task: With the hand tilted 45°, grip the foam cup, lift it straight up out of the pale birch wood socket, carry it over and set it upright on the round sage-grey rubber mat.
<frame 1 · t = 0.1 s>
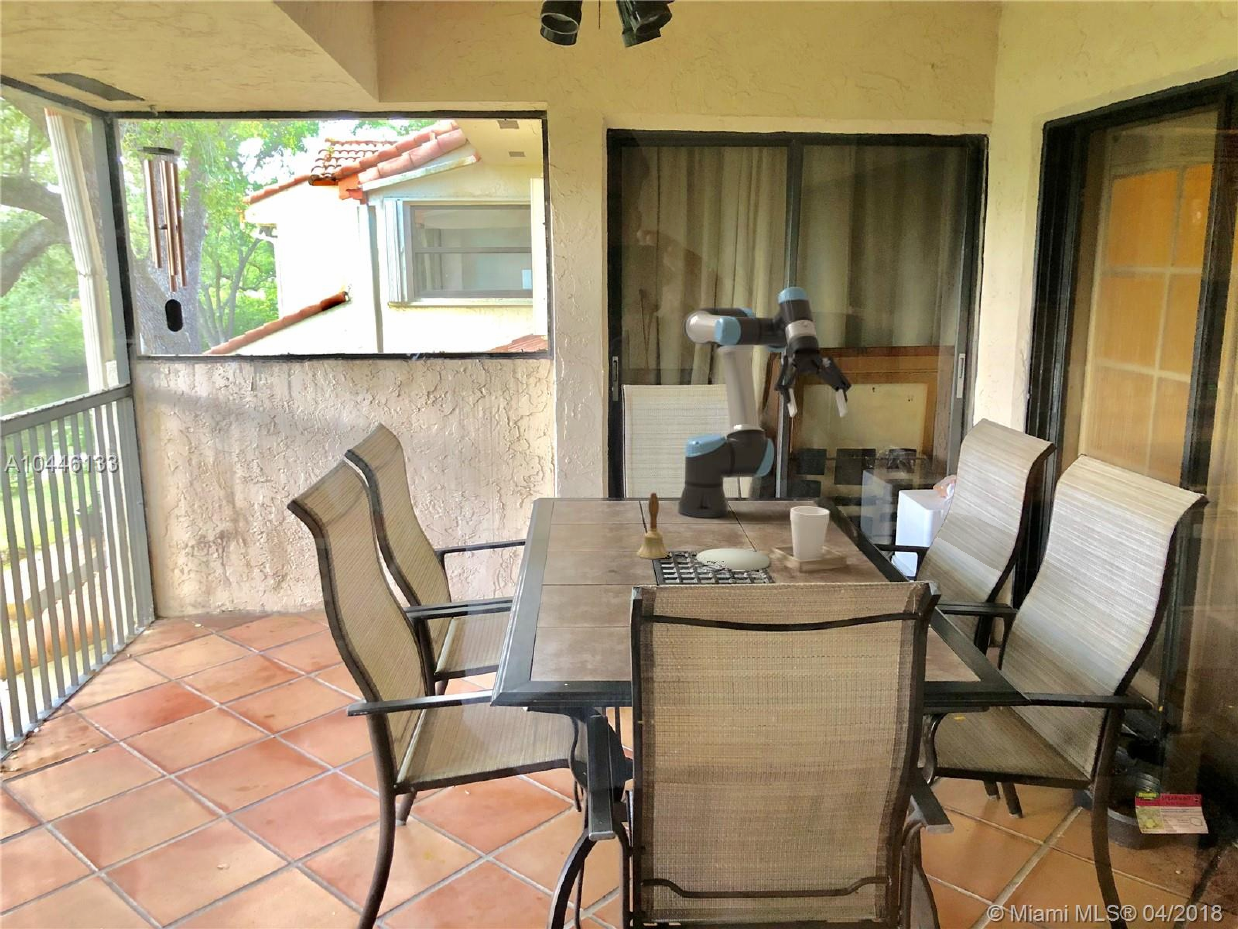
hand: (819, 414, 225), 36 cm above the table, tool tilted 35°, fingers open, 13 cm apart
hand bell: (652, 555, 228), on the table
cup socket: (806, 561, 224), on the table
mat: (732, 560, 224), on the table
foam cup: (806, 562, 224), resting in cup socket
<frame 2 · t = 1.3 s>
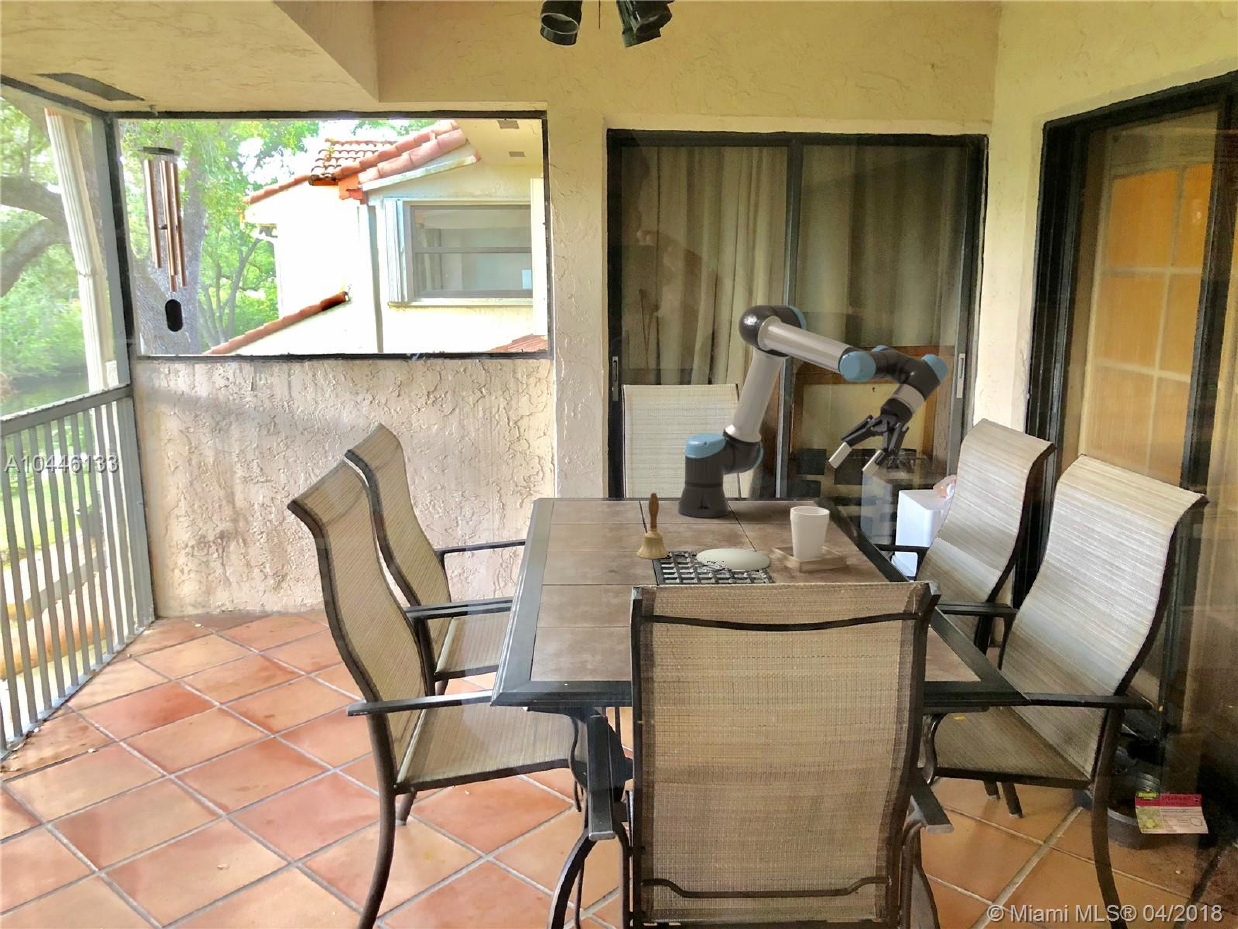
hand: (848, 469, 224), 23 cm above the table, tool tilted 45°, fingers open, 13 cm apart
nothing on the table moved.
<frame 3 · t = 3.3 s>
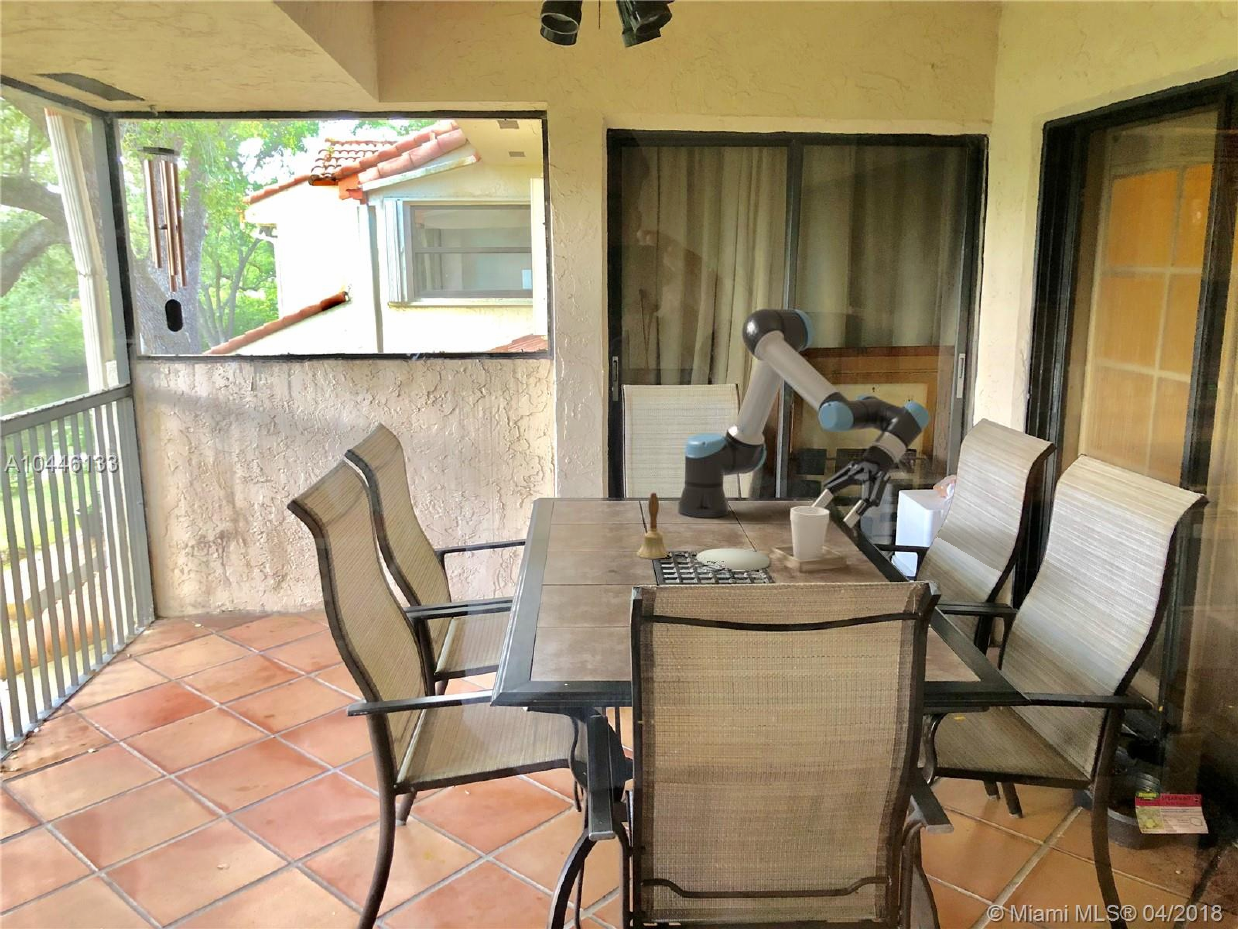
hand: (830, 517, 224), 11 cm above the table, tool tilted 45°, fingers open, 13 cm apart
nothing on the table moved.
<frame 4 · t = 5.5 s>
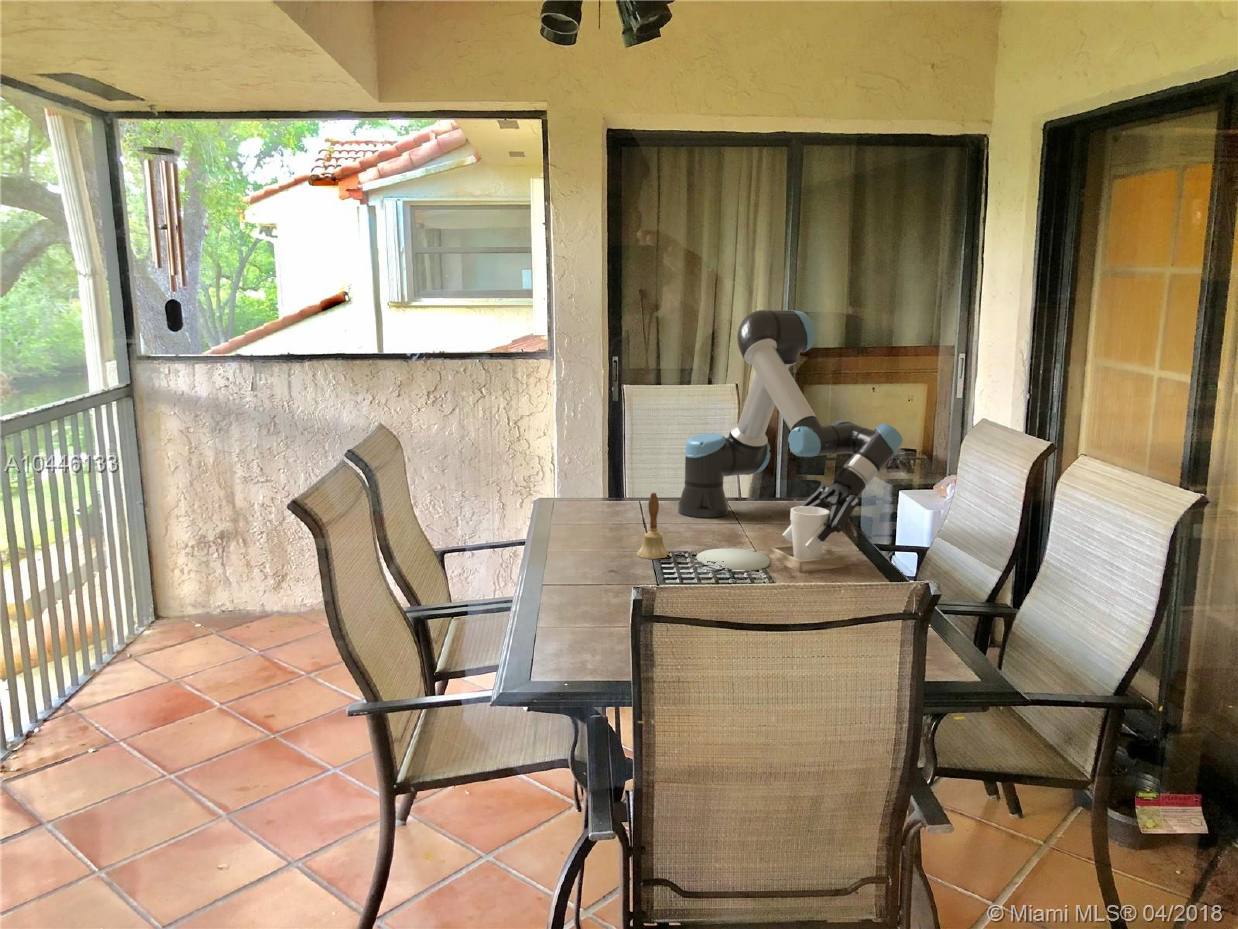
hand: (797, 543, 222), 5 cm above the table, tool tilted 45°, fingers closed on foam cup, 9 cm apart
foam cup: (806, 562, 224), resting in cup socket, touching gripper
everything else where it was.
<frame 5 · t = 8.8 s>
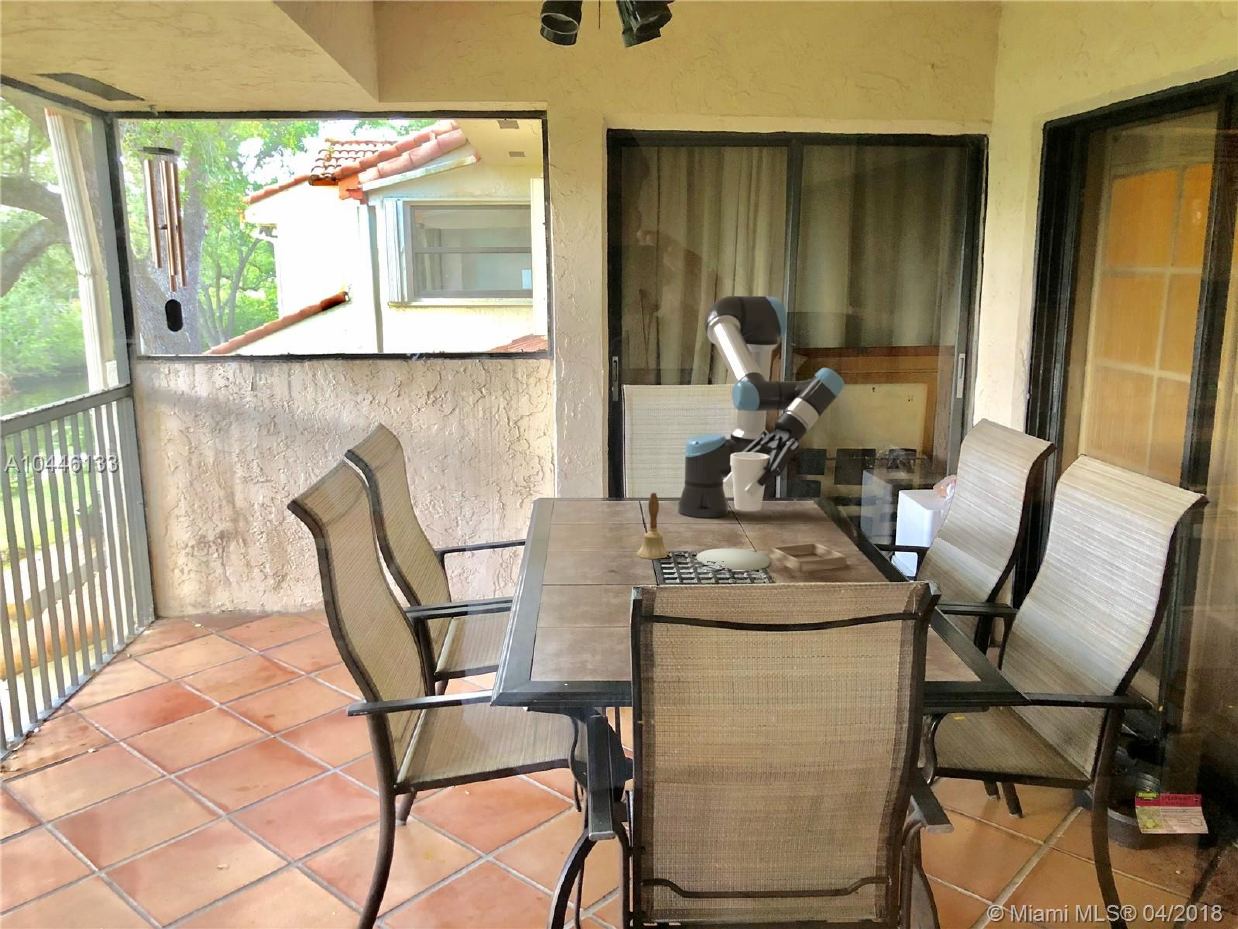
hand: (737, 489, 219), 18 cm above the table, tool tilted 45°, fingers closed on foam cup, 9 cm apart
foam cup: (747, 508, 221), point 13 cm above the table, touching gripper
everything else where it was.
when the fingers open (7 cm above the table, at t = 12.2 s): foam cup drops 1 cm, resting on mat.
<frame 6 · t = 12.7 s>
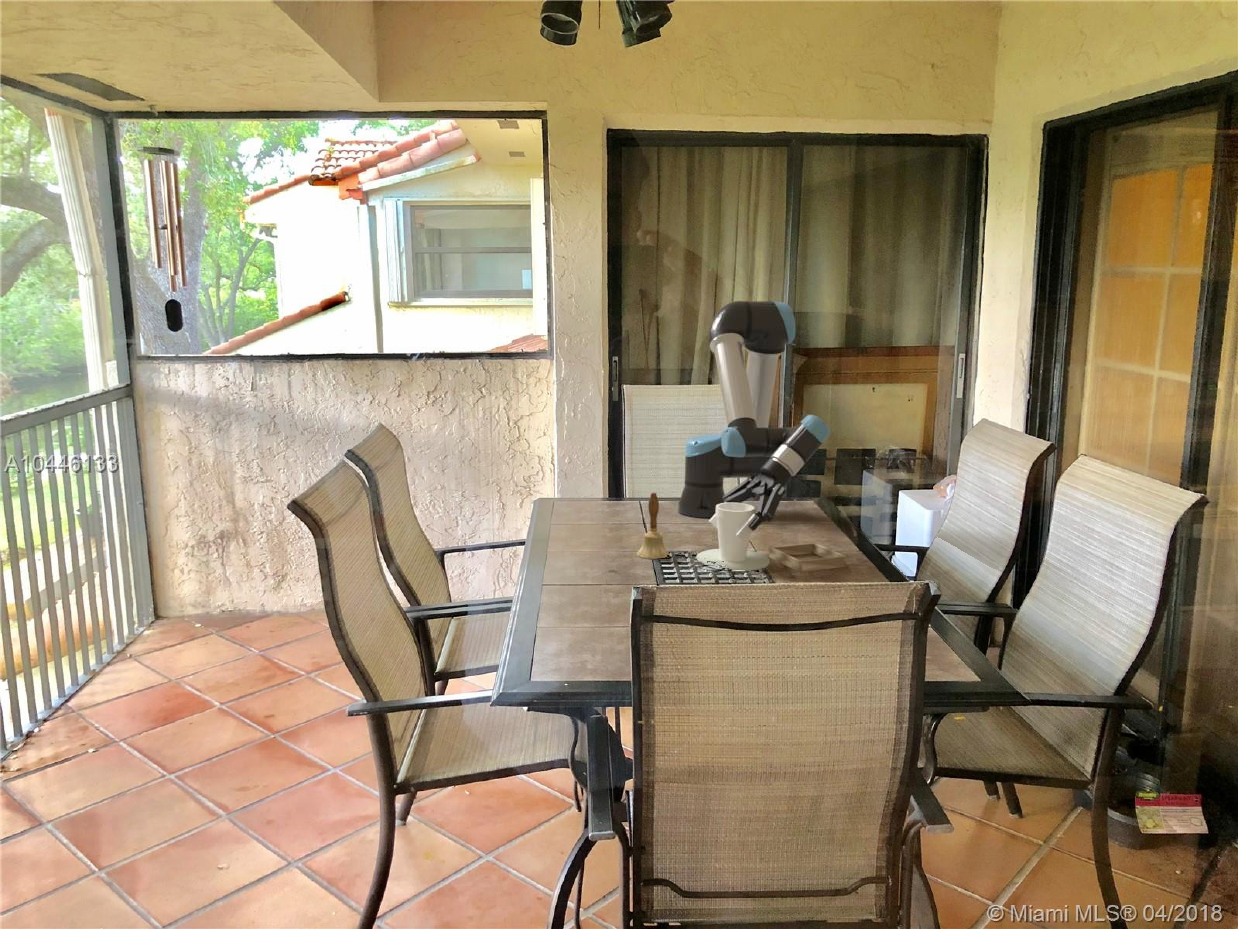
hand: (725, 531, 222), 8 cm above the table, tool tilted 45°, fingers open, 13 cm apart
foam cup: (733, 558, 224), resting on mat
everything else where it was.
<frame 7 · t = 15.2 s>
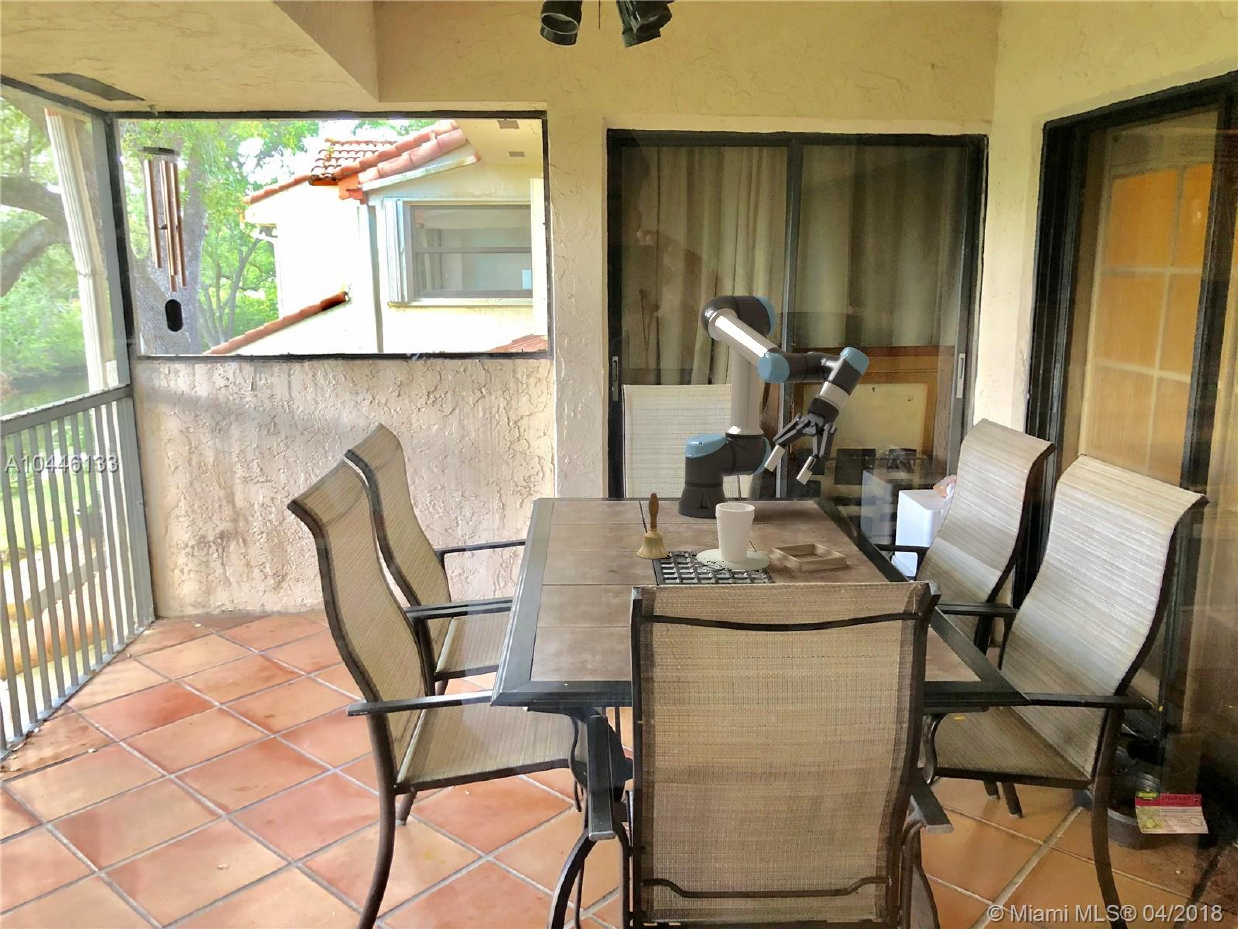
hand: (783, 475, 229), 20 cm above the table, tool tilted 35°, fingers open, 13 cm apart
nothing on the table moved.
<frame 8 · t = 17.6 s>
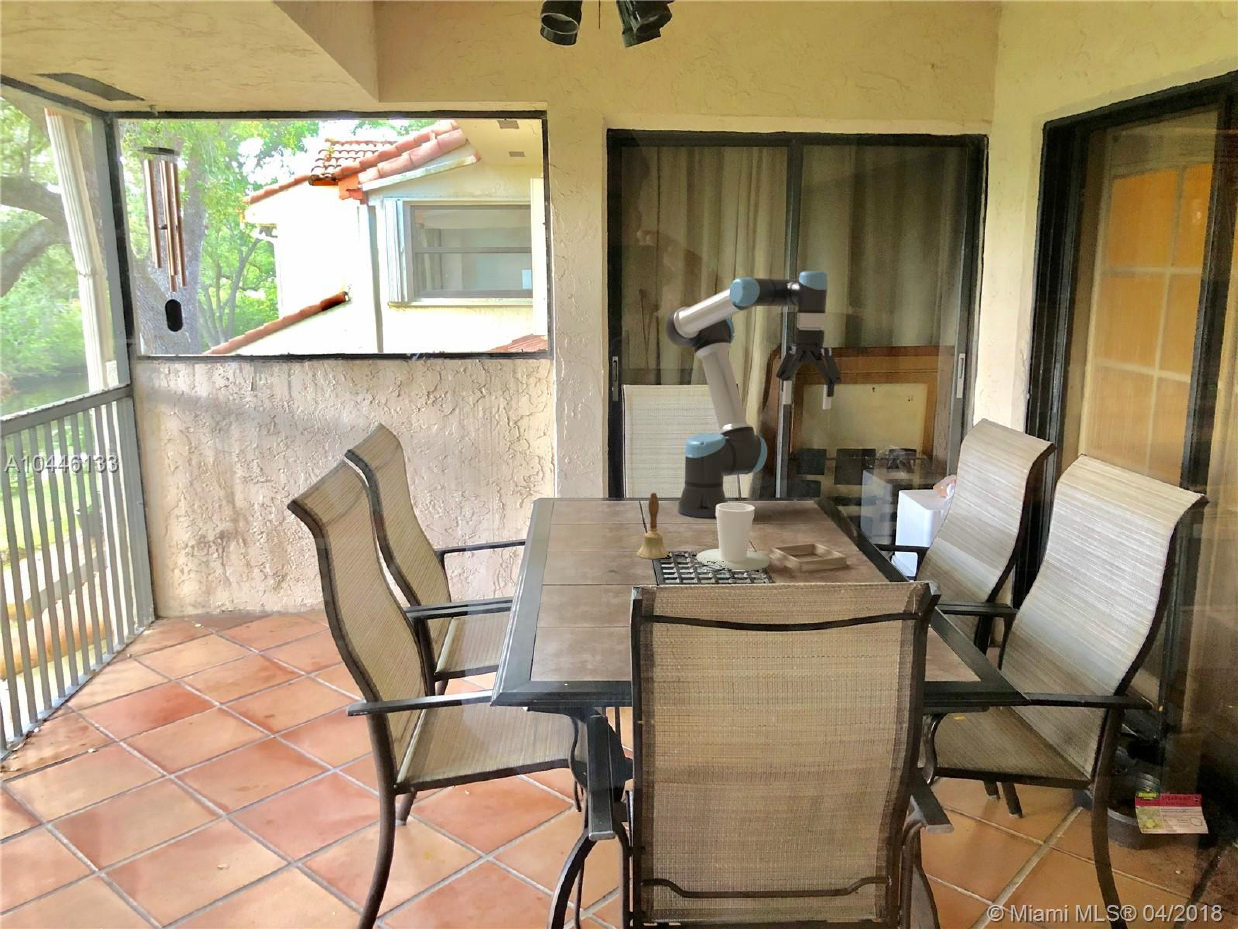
hand: (806, 406, 251), 35 cm above the table, tool pointing down, fingers open, 13 cm apart
nothing on the table moved.
at the end: foam cup inside the target area on the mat (0.2 cm from its centre), point 0.4 cm above the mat's base; foam cup tilted 0°; the gripper is holding nothing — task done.
